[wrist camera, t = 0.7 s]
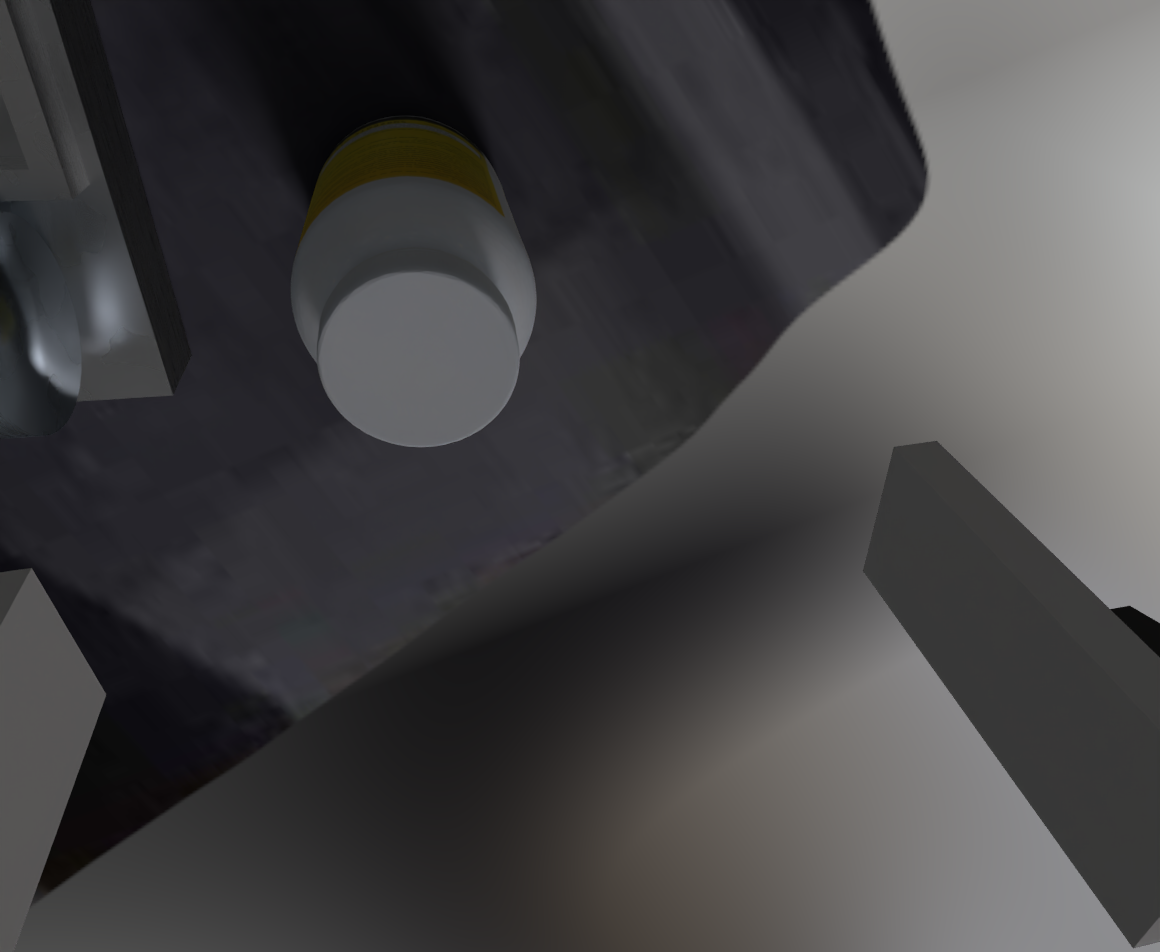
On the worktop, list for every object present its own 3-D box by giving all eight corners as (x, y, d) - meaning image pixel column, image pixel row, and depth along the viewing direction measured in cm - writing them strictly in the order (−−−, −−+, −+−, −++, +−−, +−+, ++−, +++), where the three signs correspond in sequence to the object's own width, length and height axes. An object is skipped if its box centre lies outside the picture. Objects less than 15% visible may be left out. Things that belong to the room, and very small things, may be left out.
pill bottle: (288, 129, 25) (223, 255, 16) (485, 94, 26) (533, 198, 17) (349, 314, 29) (325, 501, 20) (519, 281, 30) (573, 449, 20)
